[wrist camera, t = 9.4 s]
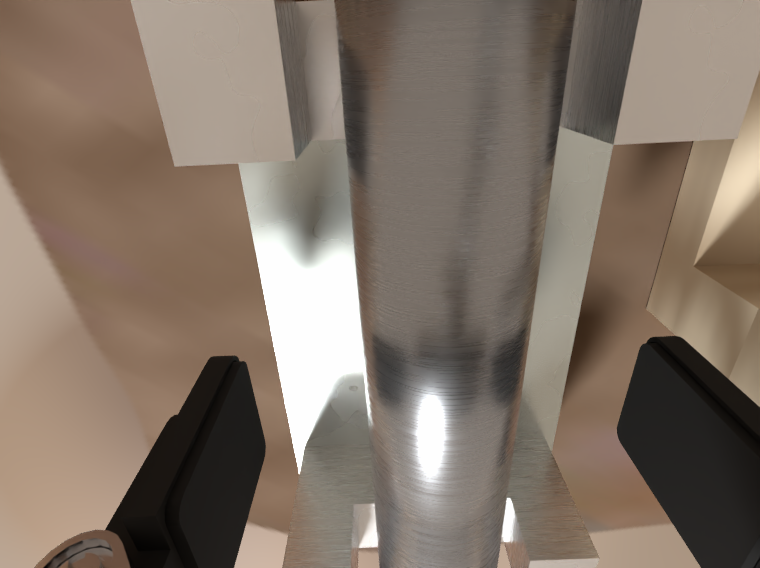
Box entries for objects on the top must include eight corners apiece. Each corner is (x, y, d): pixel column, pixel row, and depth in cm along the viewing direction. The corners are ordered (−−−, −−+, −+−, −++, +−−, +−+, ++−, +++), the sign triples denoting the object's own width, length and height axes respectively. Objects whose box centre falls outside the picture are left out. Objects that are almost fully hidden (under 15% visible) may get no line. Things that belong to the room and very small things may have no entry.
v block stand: (229, 25, 11) (99, -8, 6) (610, 5, 11) (827, -47, 6) (307, 458, 19) (280, 614, 14) (534, 448, 19) (597, 602, 13)
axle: (337, -98, 7) (299, -217, 4) (546, -111, 7) (669, -245, 4) (383, 551, 16) (381, 671, 13) (478, 550, 16) (500, 670, 13)
